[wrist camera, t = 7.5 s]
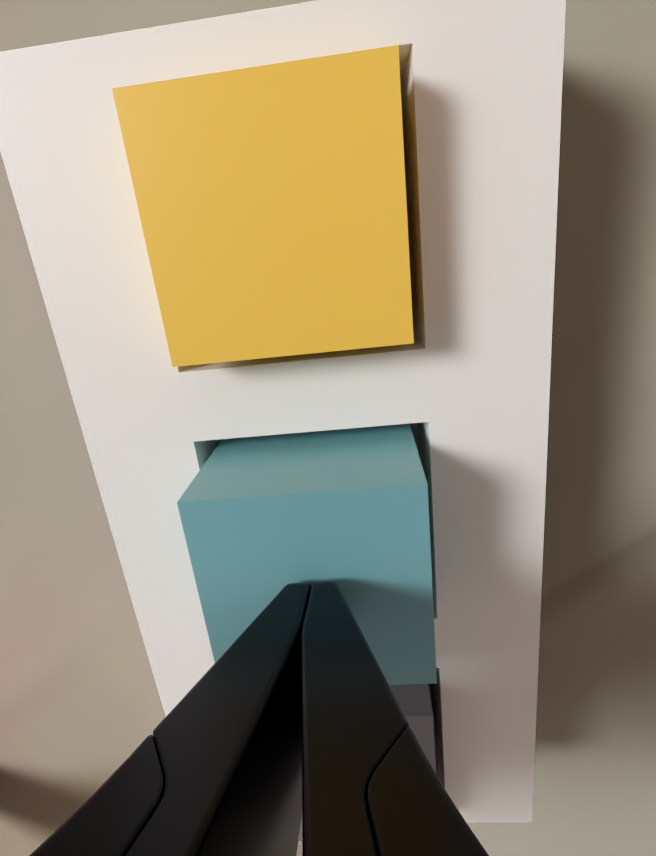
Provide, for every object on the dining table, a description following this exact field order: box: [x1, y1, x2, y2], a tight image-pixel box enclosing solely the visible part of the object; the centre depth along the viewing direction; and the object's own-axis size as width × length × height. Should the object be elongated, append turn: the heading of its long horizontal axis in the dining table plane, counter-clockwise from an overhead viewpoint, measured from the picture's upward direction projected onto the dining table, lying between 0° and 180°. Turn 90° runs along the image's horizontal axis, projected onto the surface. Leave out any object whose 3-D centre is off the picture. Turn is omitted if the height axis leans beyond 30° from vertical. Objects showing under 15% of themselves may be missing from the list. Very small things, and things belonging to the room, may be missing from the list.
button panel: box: [0, 0, 566, 823], centre depth 12 cm, size 9×18×3 cm, turn 6°
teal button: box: [177, 424, 437, 685], centre depth 10 cm, size 4×4×3 cm
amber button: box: [112, 45, 414, 367], centre depth 9 cm, size 4×4×3 cm
